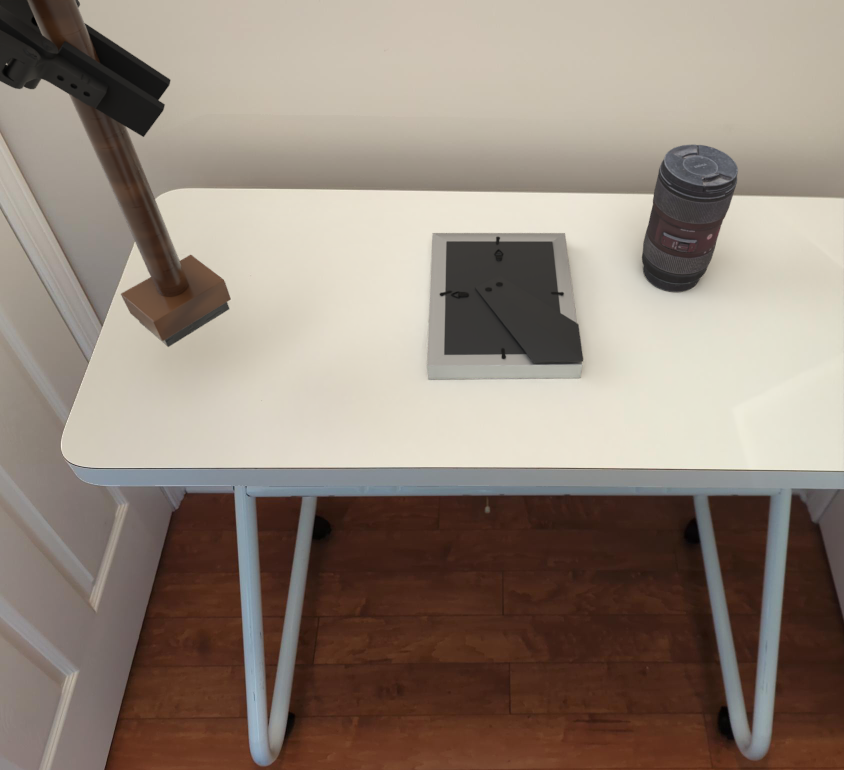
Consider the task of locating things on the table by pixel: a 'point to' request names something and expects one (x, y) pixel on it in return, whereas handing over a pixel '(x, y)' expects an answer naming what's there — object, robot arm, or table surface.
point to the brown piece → (138, 207)
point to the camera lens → (687, 215)
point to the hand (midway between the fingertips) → (156, 107)
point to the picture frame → (502, 307)
